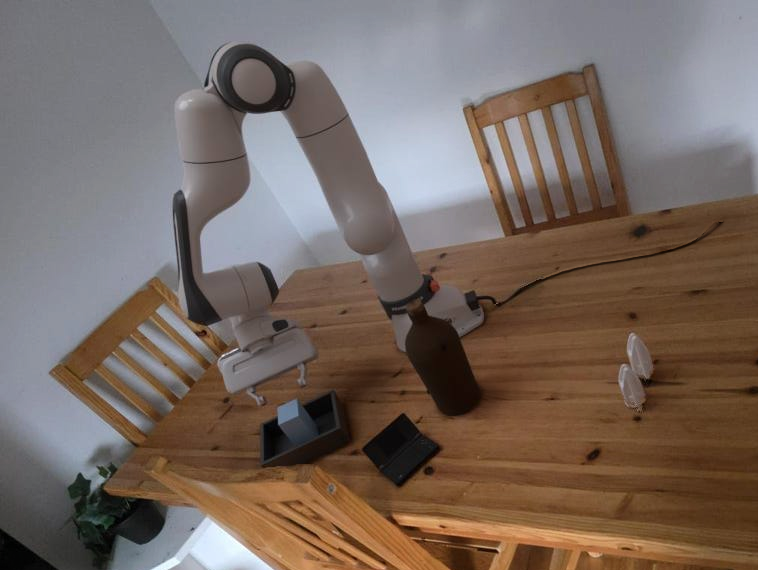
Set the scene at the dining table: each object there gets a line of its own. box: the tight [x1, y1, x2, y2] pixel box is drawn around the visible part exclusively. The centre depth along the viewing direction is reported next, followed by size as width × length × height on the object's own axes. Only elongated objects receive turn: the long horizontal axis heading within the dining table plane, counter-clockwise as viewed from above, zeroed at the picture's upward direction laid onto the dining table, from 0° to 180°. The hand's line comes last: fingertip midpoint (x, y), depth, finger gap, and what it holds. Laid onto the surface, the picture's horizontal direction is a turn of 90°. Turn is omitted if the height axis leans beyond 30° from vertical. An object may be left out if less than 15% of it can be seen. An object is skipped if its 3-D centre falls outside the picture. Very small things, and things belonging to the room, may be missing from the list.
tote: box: [259, 389, 351, 469], centre depth 128 cm, size 18×14×5 cm
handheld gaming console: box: [361, 412, 440, 487], centre depth 114 cm, size 12×7×10 cm
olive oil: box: [405, 299, 481, 417], centre depth 116 cm, size 11×11×25 cm
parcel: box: [277, 398, 318, 447], centre depth 126 cm, size 4×6×9 cm
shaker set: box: [617, 332, 654, 413], centre depth 107 cm, size 12×4×11 cm, turn 155°
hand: (284, 395), depth 127 cm, fingers open, 8 cm apart
